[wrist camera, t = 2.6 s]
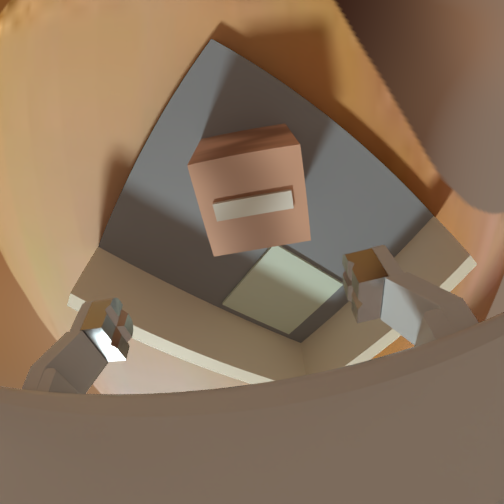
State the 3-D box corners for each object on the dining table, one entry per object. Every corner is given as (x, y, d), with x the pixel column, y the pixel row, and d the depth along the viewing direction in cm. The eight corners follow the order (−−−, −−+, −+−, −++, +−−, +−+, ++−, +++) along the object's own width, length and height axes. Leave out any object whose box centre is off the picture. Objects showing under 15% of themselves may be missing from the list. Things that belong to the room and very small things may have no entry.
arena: (435, 218, 24) (477, 264, 18) (300, 346, 33) (309, 400, 27) (213, 40, 16) (198, 27, 10) (98, 251, 25) (67, 305, 19)
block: (285, 123, 18) (300, 145, 14) (295, 198, 22) (311, 242, 17) (201, 139, 19) (186, 166, 14) (219, 212, 22) (213, 258, 17)
